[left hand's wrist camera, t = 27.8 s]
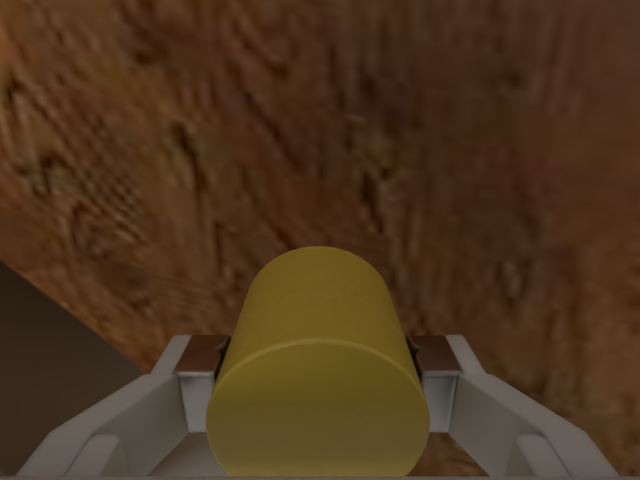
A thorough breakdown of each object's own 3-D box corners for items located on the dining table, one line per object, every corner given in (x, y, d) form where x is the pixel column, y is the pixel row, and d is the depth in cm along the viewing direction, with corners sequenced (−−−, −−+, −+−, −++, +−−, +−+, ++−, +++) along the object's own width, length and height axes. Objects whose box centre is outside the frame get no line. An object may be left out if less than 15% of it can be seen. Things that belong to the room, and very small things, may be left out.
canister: (291, 389, 14) (278, 532, 9) (216, 286, 12) (157, 399, 8) (414, 336, 13) (464, 466, 8) (351, 218, 11) (370, 301, 7)
